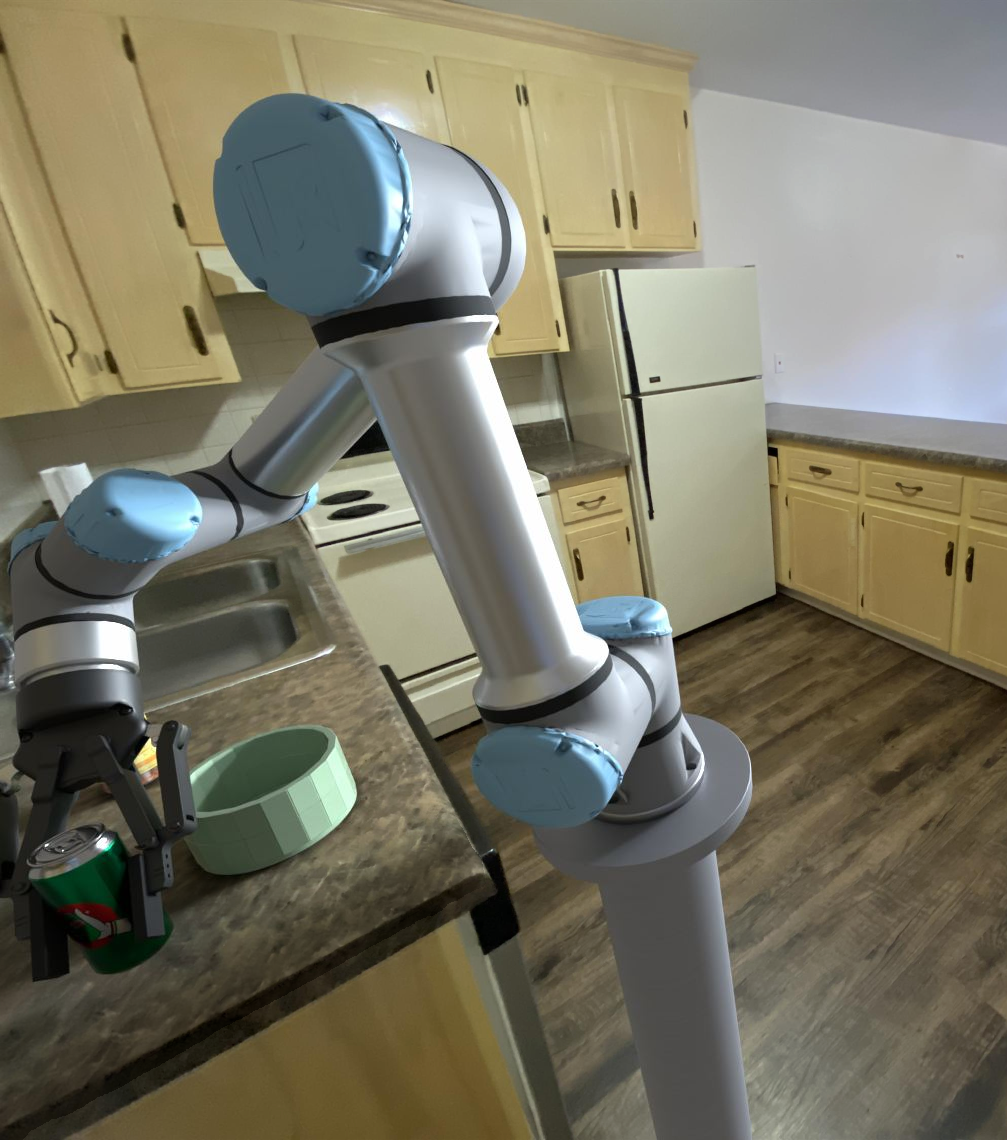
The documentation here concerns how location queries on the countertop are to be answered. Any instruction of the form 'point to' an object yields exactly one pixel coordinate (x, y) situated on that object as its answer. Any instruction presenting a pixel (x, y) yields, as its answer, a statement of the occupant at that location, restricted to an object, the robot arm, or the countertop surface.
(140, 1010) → the countertop surface
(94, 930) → the soda can
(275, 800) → the bowl
